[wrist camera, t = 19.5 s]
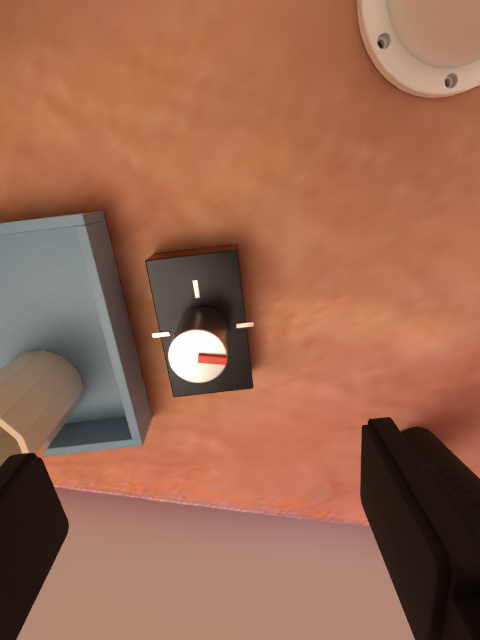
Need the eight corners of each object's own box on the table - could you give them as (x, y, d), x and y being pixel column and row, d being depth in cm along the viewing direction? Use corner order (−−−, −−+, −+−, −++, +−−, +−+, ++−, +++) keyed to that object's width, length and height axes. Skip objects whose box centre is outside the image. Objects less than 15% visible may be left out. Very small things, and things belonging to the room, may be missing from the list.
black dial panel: (145, 254, 28) (135, 261, 25) (244, 243, 28) (245, 248, 25) (171, 380, 32) (166, 399, 29) (257, 371, 32) (260, 388, 29)
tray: (-116, 236, 27) (-173, 243, 23) (103, 210, 27) (82, 213, 23) (-23, 437, 34) (-56, 468, 30) (152, 417, 34) (142, 445, 30)
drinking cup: (383, 482, 37) (538, 771, 19) (369, 428, 35) (533, 700, 16) (453, 463, 37) (685, 742, 18) (444, 406, 34) (704, 663, 15)
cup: (-5, 355, 30) (-96, 417, 22) (71, 346, 30) (9, 405, 22) (21, 418, 33) (-53, 497, 24) (91, 410, 32) (42, 486, 24)
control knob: (176, 349, 28) (165, 383, 23) (179, 303, 27) (167, 328, 22) (225, 353, 28) (224, 387, 23) (230, 308, 27) (230, 333, 22)
